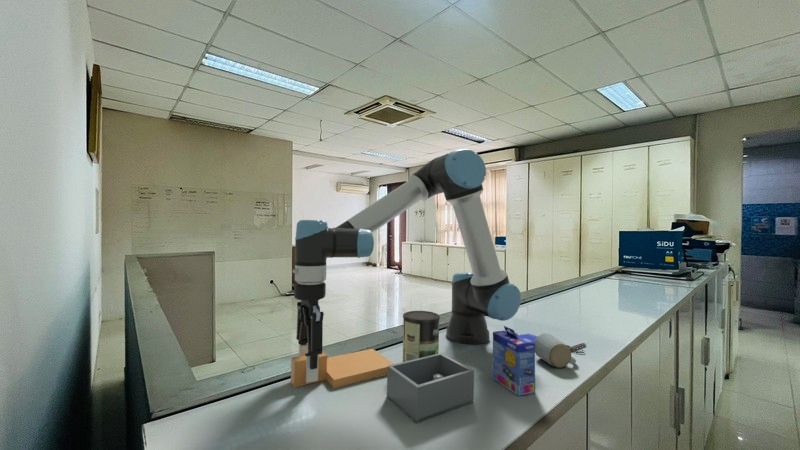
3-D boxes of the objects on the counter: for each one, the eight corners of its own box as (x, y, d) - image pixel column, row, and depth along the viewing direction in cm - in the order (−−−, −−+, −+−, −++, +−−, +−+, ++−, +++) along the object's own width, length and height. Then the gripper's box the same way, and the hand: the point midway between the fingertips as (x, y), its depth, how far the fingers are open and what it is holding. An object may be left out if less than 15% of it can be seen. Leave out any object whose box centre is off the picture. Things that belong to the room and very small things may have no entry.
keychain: (600, 349, 108) (600, 344, 108) (571, 360, 98) (571, 355, 98) (576, 342, 115) (576, 337, 115) (547, 352, 105) (547, 346, 105)
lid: (372, 355, 97) (372, 335, 98) (395, 372, 86) (396, 349, 86) (285, 374, 84) (286, 350, 84) (299, 397, 73) (300, 370, 73)
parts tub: (440, 380, 82) (440, 353, 82) (473, 402, 72) (474, 370, 72) (386, 396, 74) (387, 365, 74) (416, 423, 64) (417, 387, 64)
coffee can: (439, 359, 95) (441, 311, 96) (436, 375, 85) (438, 321, 85) (405, 356, 97) (406, 309, 98) (398, 370, 87) (399, 318, 88)
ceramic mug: (550, 370, 90) (551, 342, 90) (532, 358, 98) (533, 333, 98) (583, 368, 92) (584, 341, 92) (563, 357, 100) (564, 332, 100)
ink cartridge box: (490, 378, 84) (491, 322, 84) (507, 375, 86) (509, 320, 86) (517, 397, 75) (518, 334, 75) (535, 393, 77) (537, 332, 77)
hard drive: (528, 332, 119) (503, 337, 113) (547, 339, 112) (523, 345, 106) (527, 337, 119) (503, 342, 113) (547, 344, 112) (522, 350, 106)
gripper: (285, 277, 86) (283, 364, 86) (306, 289, 71) (303, 396, 70) (313, 275, 91) (311, 359, 90) (338, 287, 75) (336, 388, 74)
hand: (307, 375), depth 80 cm, fingers open, 6 cm apart
